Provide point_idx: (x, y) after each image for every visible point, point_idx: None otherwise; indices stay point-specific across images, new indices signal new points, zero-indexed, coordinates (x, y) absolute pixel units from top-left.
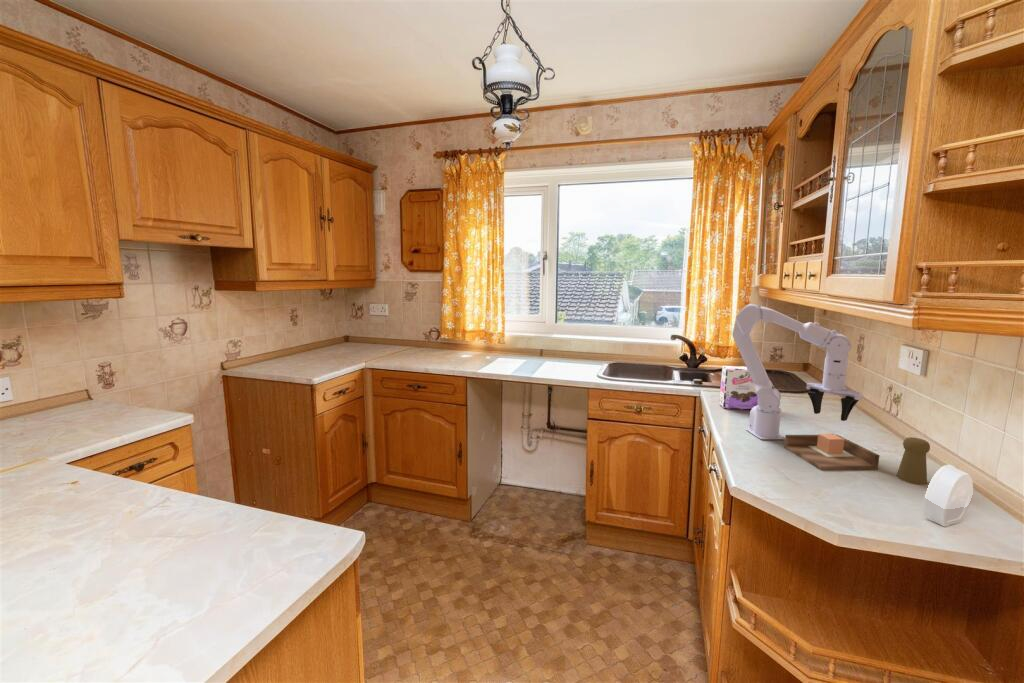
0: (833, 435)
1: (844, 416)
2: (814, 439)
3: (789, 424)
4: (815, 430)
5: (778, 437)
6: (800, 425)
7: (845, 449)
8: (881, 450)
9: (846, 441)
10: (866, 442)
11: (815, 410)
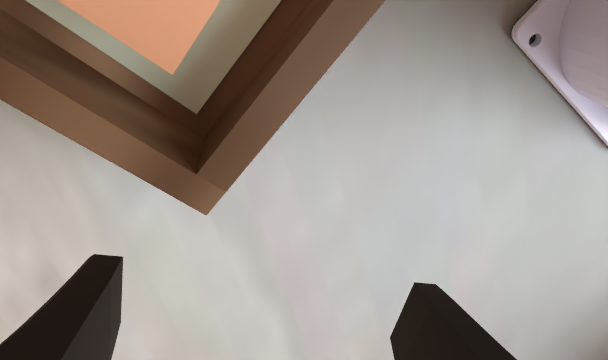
0: (137, 8)
1: (57, 300)
2: (315, 12)
3: (508, 324)
4: (382, 335)
5: (559, 5)
6: None
7: (99, 78)
8: (25, 303)
9: (73, 98)
10: (138, 356)
11: (443, 308)
